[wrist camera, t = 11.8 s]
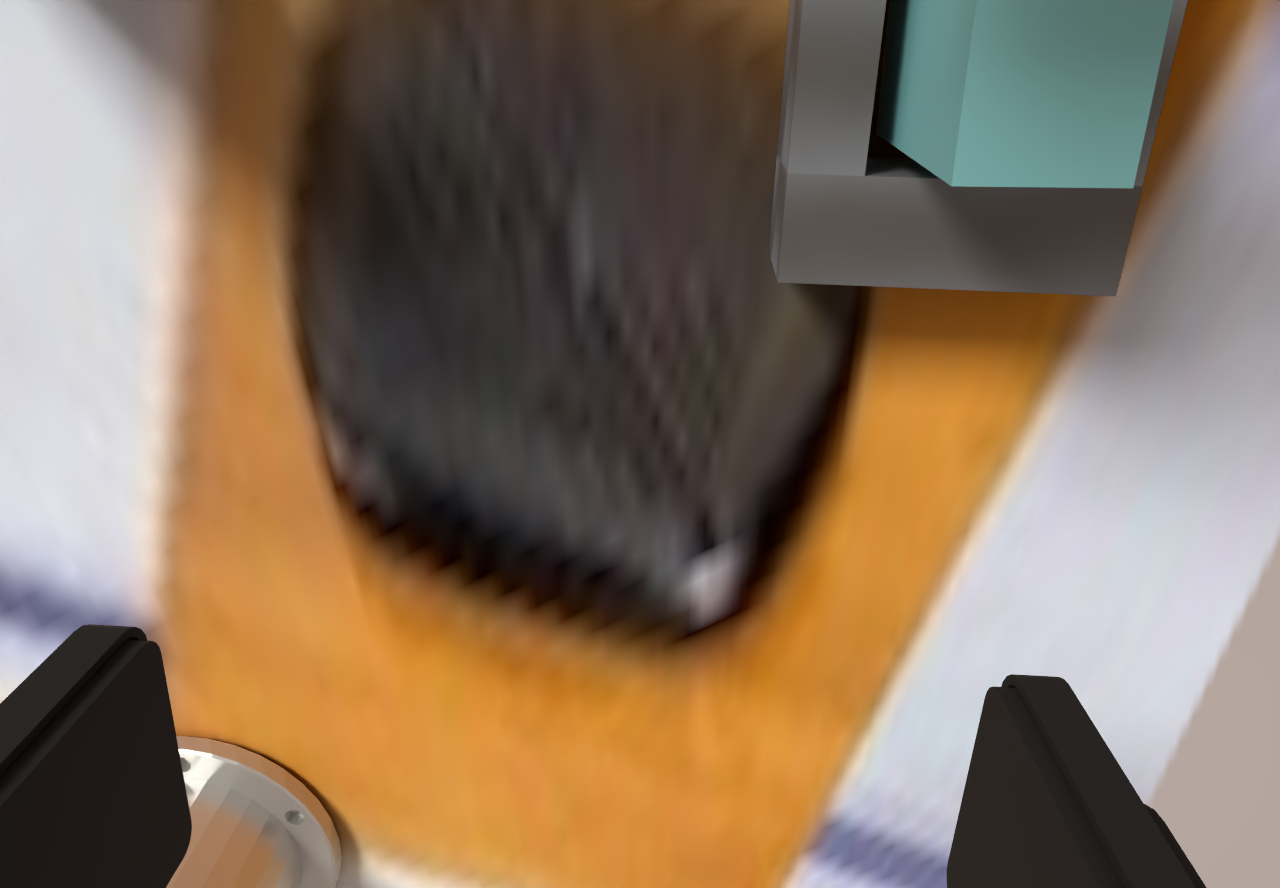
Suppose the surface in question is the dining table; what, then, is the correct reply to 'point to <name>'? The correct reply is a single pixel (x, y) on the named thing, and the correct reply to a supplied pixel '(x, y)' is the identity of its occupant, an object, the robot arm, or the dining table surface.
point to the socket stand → (922, 186)
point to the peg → (1022, 88)
